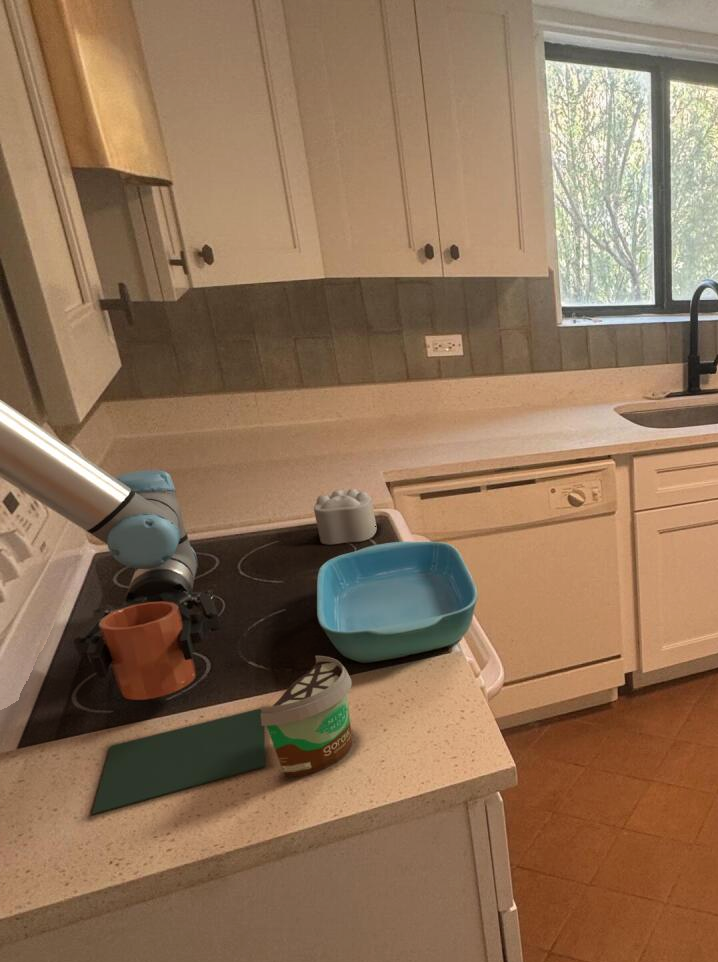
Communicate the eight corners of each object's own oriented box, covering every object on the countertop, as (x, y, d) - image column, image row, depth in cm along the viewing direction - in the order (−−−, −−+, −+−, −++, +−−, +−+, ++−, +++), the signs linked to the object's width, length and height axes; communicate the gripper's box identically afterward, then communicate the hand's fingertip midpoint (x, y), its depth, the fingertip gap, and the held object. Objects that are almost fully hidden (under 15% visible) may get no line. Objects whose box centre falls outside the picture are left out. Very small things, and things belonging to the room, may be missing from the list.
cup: (125, 677, 104) (104, 609, 100) (197, 662, 108) (179, 596, 104) (117, 706, 97) (94, 635, 94) (194, 689, 101) (174, 620, 98)
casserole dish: (494, 652, 116) (489, 609, 114) (327, 690, 107) (316, 643, 104) (456, 567, 147) (451, 531, 144) (323, 590, 137) (315, 552, 135)
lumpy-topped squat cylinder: (316, 545, 157) (308, 505, 154) (327, 525, 169) (319, 486, 166) (373, 540, 160) (365, 500, 157) (380, 519, 172) (373, 482, 169)
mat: (111, 747, 95) (110, 745, 95) (263, 709, 103) (263, 707, 102) (92, 815, 84) (91, 813, 84) (265, 766, 91) (264, 765, 91)
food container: (331, 786, 88) (313, 710, 84) (277, 785, 88) (257, 709, 85) (381, 722, 100) (367, 653, 96) (333, 722, 100) (317, 653, 96)
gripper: (249, 600, 121) (248, 664, 103) (78, 631, 111) (43, 708, 93) (238, 555, 119) (235, 612, 100) (62, 583, 108) (23, 652, 90)
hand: (143, 658), depth 97 cm, fingers closed on cup, 8 cm apart
